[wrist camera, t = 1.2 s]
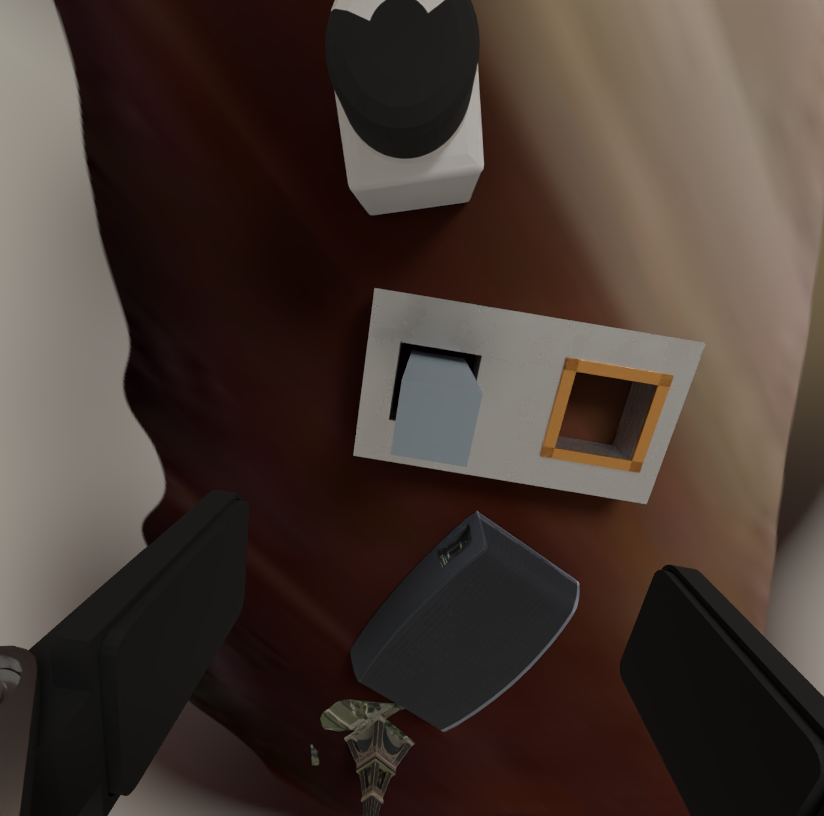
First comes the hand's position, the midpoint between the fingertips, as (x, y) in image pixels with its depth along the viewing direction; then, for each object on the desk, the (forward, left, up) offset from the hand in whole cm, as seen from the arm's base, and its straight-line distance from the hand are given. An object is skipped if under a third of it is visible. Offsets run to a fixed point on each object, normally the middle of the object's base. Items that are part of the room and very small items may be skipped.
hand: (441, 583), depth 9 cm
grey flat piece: (0, +6, -22) cm, 23 cm away
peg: (0, 0, -22) cm, 22 cm away
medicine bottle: (-15, -4, -23) cm, 27 cm away
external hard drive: (+22, +6, -23) cm, 32 cm away
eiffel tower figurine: (+38, +1, -23) cm, 45 cm away
